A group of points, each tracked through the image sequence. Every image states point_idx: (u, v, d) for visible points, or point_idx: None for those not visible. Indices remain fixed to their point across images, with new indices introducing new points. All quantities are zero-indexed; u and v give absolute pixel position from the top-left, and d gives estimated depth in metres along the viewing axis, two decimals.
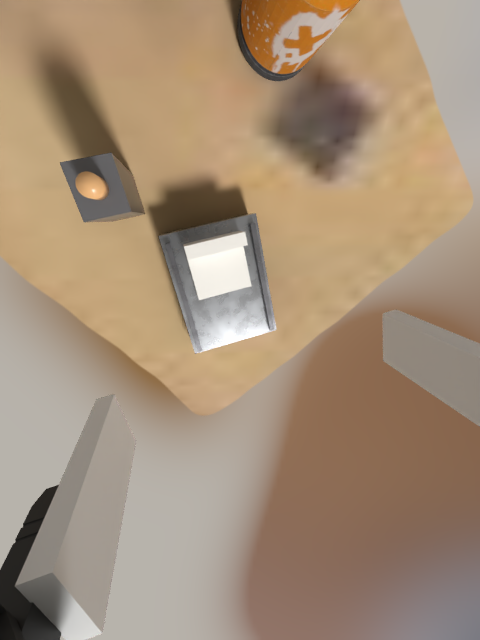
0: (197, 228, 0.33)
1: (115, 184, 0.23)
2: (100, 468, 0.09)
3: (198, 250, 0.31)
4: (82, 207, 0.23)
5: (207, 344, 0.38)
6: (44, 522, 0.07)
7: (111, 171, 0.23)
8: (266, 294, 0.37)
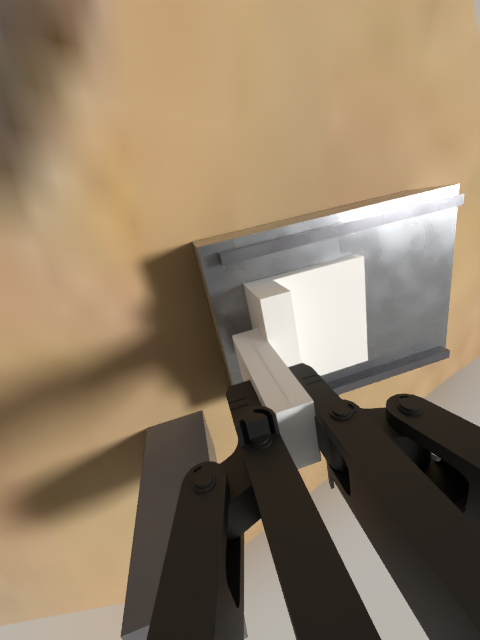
0: (230, 365, 0.17)
1: None
2: None
3: None
4: None
5: (436, 336, 0.20)
6: (260, 391, 0.10)
7: None
8: (381, 218, 0.15)
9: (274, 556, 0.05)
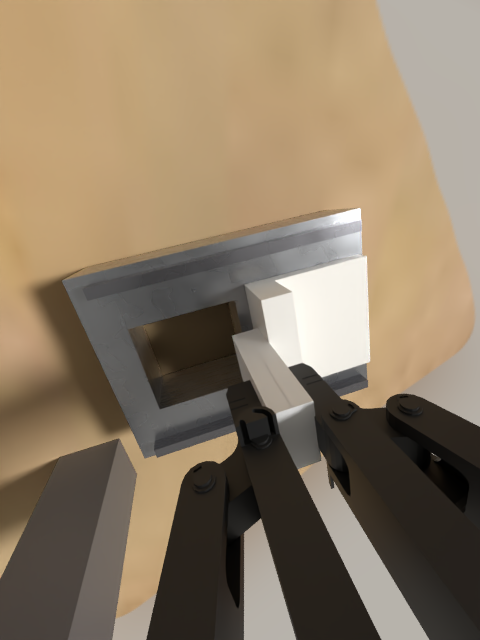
0: (121, 400, 0.16)
1: None
2: None
3: None
4: None
5: None
6: (260, 391, 0.10)
7: None
8: (267, 247, 0.14)
9: (274, 556, 0.05)
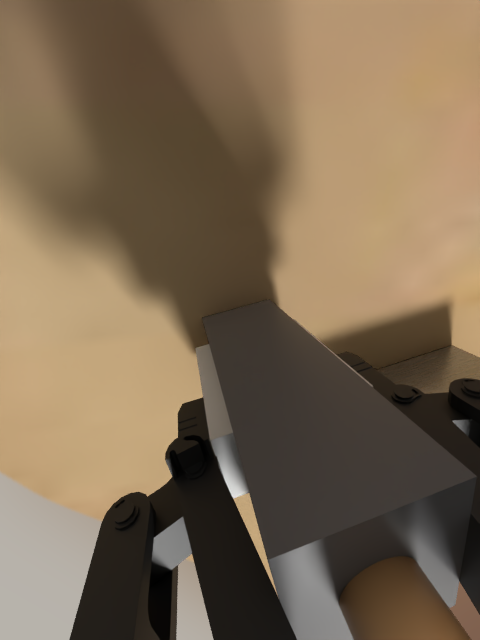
0: None
1: (443, 559, 0.06)
2: None
3: None
4: None
5: None
6: (207, 412, 0.09)
7: (448, 530, 0.05)
8: None
9: (205, 602, 0.05)
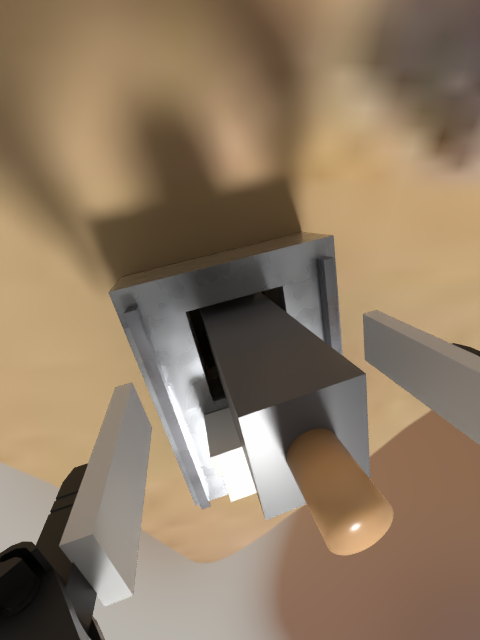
0: (202, 271, 0.14)
1: (354, 435, 0.09)
2: (124, 449, 0.10)
3: (240, 458, 0.14)
4: (269, 494, 0.09)
5: (219, 488, 0.19)
6: (79, 493, 0.08)
7: (353, 412, 0.09)
8: None
9: None
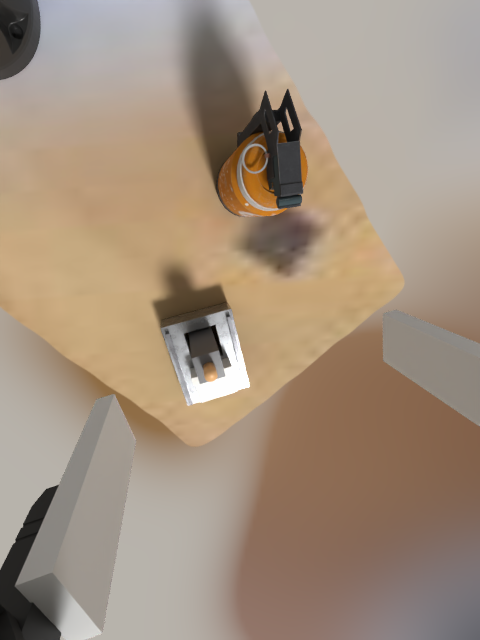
0: (188, 321, 0.46)
1: (218, 364, 0.41)
2: (100, 468, 0.09)
3: None
4: (200, 377, 0.41)
5: (196, 398, 0.51)
6: (44, 522, 0.07)
7: (217, 359, 0.40)
8: (240, 363, 0.50)
9: None
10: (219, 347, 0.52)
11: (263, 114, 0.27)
